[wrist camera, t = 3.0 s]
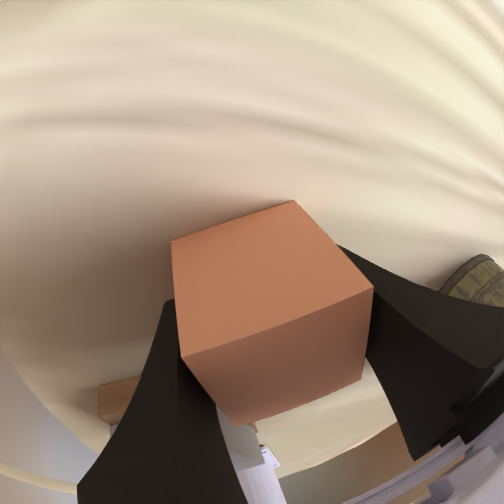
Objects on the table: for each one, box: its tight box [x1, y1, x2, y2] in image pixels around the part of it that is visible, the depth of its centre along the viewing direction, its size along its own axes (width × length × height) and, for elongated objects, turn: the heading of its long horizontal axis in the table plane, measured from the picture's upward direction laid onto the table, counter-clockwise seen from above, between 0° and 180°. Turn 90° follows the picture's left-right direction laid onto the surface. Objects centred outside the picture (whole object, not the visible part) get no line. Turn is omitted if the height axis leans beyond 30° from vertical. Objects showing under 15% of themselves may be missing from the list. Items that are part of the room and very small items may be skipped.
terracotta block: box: [171, 200, 374, 427], centre depth 9 cm, size 4×4×5 cm
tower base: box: [98, 376, 258, 433], centre depth 15 cm, size 7×7×2 cm
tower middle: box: [110, 405, 265, 472], centre depth 13 cm, size 6×6×2 cm
